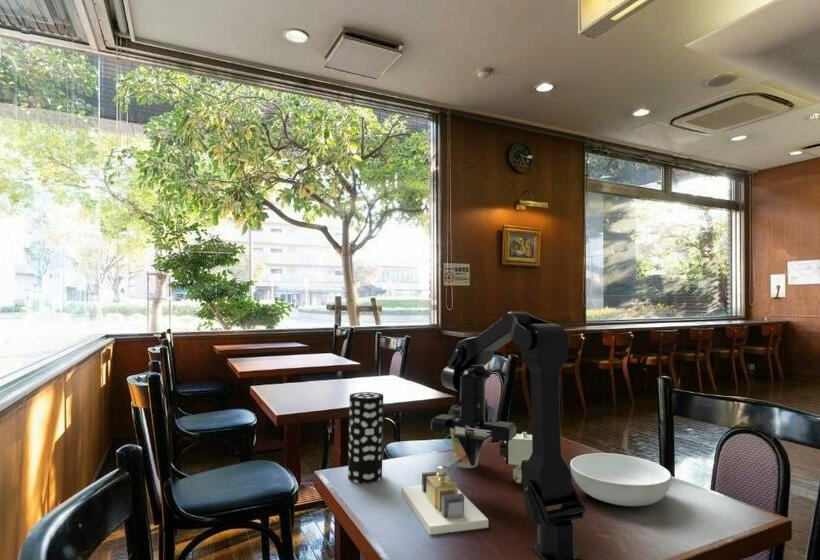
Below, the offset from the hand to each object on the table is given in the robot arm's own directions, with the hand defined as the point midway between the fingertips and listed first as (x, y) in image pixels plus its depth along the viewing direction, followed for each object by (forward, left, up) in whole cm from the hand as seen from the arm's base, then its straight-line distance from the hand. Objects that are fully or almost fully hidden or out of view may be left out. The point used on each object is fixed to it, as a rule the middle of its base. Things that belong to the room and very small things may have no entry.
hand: (472, 465), depth 111 cm
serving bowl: (-9, -32, -7) cm, 34 cm away
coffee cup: (+20, -7, -7) cm, 22 cm away
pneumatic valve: (+5, -16, -7) cm, 18 cm away
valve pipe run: (-5, +9, -5) cm, 12 cm away
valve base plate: (-5, +9, -7) cm, 13 cm away
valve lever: (-1, +5, -1) cm, 5 cm away
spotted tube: (+17, +21, -7) cm, 28 cm away
